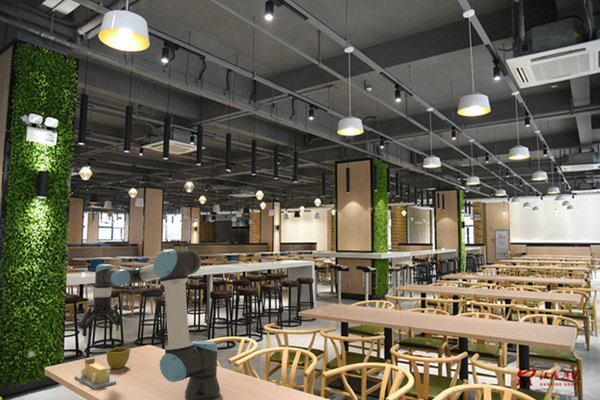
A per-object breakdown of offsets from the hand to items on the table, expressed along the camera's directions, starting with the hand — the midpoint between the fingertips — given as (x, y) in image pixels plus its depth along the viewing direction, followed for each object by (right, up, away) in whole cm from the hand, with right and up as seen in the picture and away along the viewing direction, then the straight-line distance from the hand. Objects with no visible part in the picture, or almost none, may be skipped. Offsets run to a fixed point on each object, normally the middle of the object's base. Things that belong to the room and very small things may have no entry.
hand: (100, 340), depth 201 cm
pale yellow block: (-2, -18, -2) cm, 18 cm away
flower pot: (0, -21, +19) cm, 29 cm away
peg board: (-1, -19, -2) cm, 19 cm away
